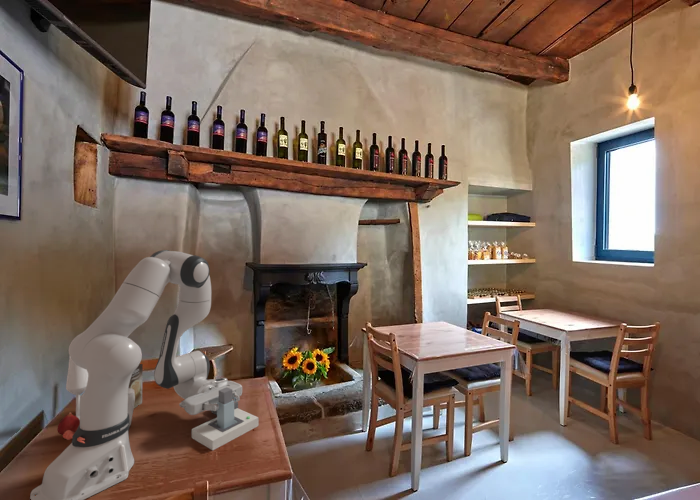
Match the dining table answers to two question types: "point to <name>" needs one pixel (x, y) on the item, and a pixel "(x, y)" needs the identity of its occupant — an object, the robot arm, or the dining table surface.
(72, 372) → the champagne flute
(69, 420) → the onion
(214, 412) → the holster
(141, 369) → the coffee box
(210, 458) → the dining table surface
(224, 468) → the dining table surface
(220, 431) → the block
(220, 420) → the plug
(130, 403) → the cup
